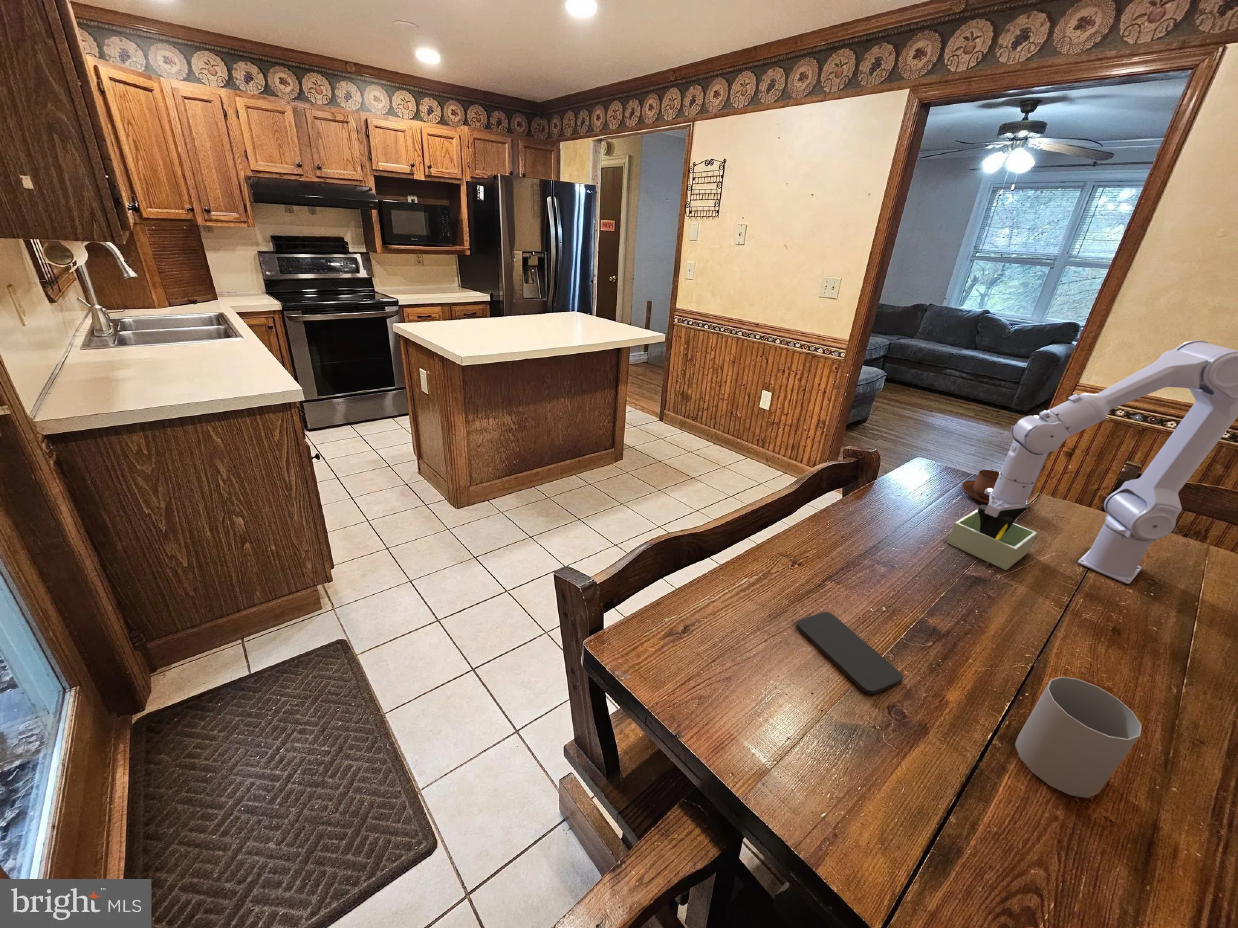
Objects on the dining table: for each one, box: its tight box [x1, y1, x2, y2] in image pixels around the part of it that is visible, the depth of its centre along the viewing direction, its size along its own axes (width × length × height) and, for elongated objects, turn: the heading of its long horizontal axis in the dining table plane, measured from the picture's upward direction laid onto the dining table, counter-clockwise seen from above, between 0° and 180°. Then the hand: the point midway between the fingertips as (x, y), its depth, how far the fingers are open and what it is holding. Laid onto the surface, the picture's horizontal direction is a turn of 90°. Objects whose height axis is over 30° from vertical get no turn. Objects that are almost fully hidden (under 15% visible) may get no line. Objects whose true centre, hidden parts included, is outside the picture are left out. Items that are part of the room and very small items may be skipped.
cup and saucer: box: [961, 469, 1001, 505], centre depth 125 cm, size 12×12×6 cm
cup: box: [1014, 676, 1142, 799], centre depth 61 cm, size 8×8×10 cm
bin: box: [946, 508, 1038, 571], centre depth 105 cm, size 11×11×5 cm
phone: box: [796, 611, 904, 696], centre depth 78 cm, size 7×1×15 cm
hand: (992, 536), depth 105 cm, fingers closed on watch, 6 cm apart
